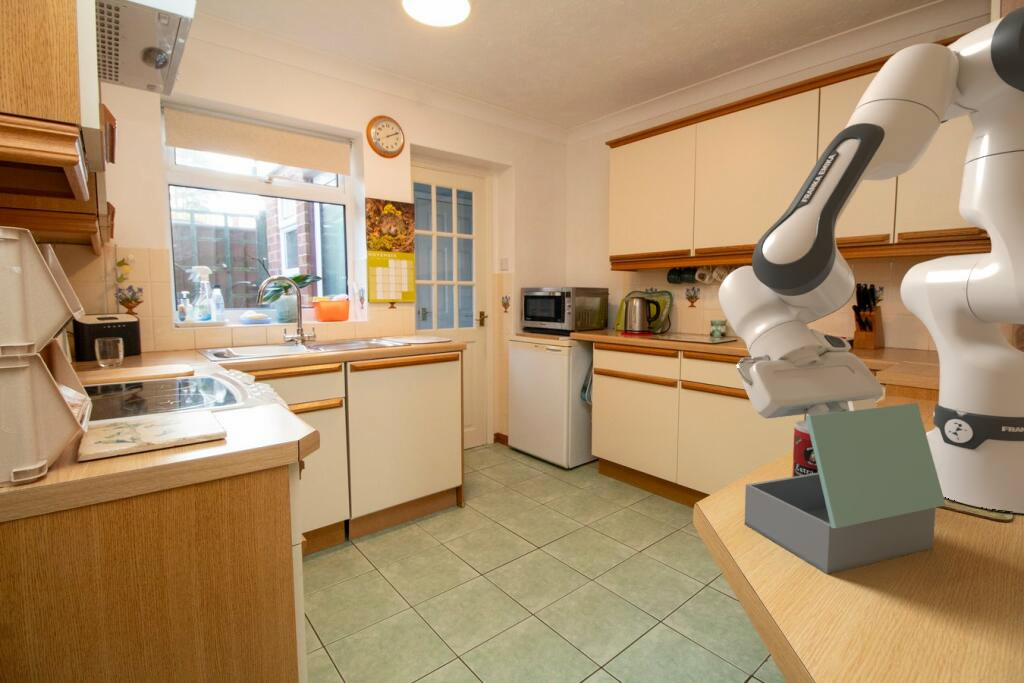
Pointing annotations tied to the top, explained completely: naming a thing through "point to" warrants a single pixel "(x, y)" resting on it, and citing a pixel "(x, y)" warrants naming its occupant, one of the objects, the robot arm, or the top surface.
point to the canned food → (803, 451)
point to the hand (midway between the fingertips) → (848, 436)
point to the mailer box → (807, 530)
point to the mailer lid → (874, 462)
